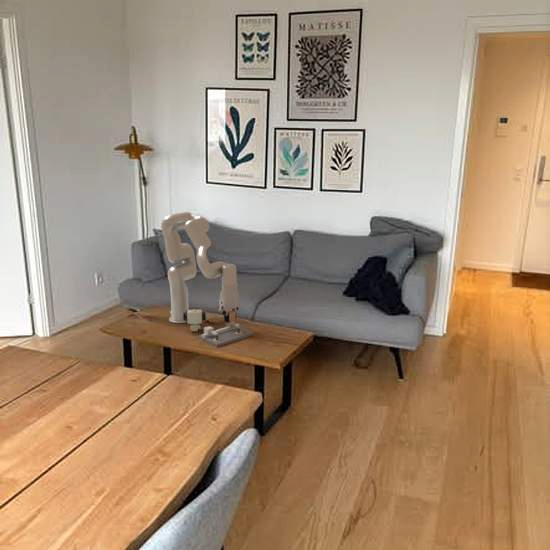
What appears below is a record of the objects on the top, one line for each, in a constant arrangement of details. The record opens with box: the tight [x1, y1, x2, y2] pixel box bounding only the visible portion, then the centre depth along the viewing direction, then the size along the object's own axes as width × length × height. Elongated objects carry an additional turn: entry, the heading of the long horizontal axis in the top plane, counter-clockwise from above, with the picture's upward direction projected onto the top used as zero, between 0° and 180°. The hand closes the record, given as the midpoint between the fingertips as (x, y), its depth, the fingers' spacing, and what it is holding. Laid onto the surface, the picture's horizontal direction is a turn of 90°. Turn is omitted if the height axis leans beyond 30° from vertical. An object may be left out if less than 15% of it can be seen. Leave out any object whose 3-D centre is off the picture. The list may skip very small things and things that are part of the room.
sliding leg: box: [224, 309, 241, 332], centre depth 284 cm, size 9×4×10 cm, turn 43°
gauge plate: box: [197, 323, 255, 348], centre depth 280 cm, size 16×24×6 cm, turn 133°
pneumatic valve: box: [183, 308, 207, 332], centre depth 289 cm, size 6×12×12 cm, turn 94°
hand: (230, 320), depth 286 cm, fingers closed on sliding leg, 4 cm apart
